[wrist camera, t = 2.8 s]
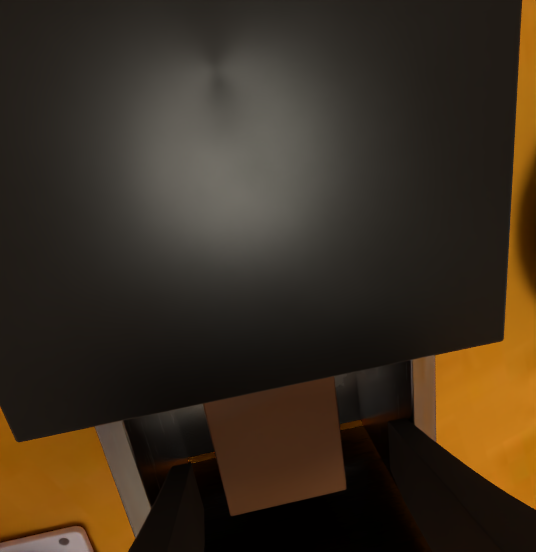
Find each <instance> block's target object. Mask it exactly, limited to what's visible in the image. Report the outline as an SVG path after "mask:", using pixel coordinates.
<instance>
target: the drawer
mask: <svg viewBox="0 0 536 552" xmlns="http://www.w3.org/2000/svg"><path fill="white" fill-rule="evenodd" d="M334 378H335V387H336V396H337V405H338V414H339V423H340V424H343V423H347V422H352V421H356V420H361V422H362V424H363V426H359V427H354V428H350V429H345V430H341V431H340V432H341V441H342V450H343V459H344V468H345V477H346V486H347V489H346V490H342V491H338V492H334V493H329V494H325V495H321V496H317V497H312V498H308V499H304V500H299V501H295V502H291V503H287V504H282V505H278V506H274V507H269V508H265V509H261V510H257V511H252V512H248V513H244V514H239V515H235V516H231V515H230V512H229V508H228V504H227V500H226V496H225V492H224V488H223V484H222V480H221V476H220V472H219V468H218V464H217V460H216V458H214V459H209V460H205V461H200V462H196V463H191V464H192V467H193V471H194V475H195V478H196V482H197V485H198V489H199V493H200V496H201V500H202V503H203V507H204V534H205V546H204V552H432V550H431V548H430V547H429V545H428V543H427V541H426V540H425V538H424V536H423V534H422V533H421V531H420V529H419V527H418V525H417V524H416V522H415V520H414V518H413V516H412V515H411V513H410V511H409V509H408V507H407V506H406V504H405V502H404V500H403V498H402V495H401V493H400V491H399V489H398V486H397V484H396V482H395V479H394V477H393V474H392V472H391V470H390V455H389V436H388V421H392V420H397V419H402V418H407V419H408V420H409V421H411V422H412V423H413V424H414V425H415V426H417V427H418V428H419V429H420V430H422V431H423V432H424V433H425V434H426V435H428V436H429V437H430V438H431V439H433V440H434V441H435V442H436V399H435V355H433V356H428V357H424V358H419V359H414V360H409V361H405V362H400V363H395V364H390V365H386V366H381V367H376V368H371V369H366V370H362V371H357V372H352V373H347V374H343V375H338V376H334ZM95 429H96V432H97V434H98V437H99V440H100V443H101V445H102V448H103V451H104V454H105V456H106V459H107V462H108V465H109V467H110V470H111V473H112V476H113V478H114V481H115V484H116V486H117V489H118V492H119V495H120V497H121V500H122V503H123V506H124V508H125V511H126V514H127V517H128V519H129V522H130V525H131V528H132V530H133V533H134V536H135V538H136V537H137V535H138V533H139V531H140V529H141V528H142V526H143V524H144V522H145V520H146V518H147V516H148V514H149V512H150V510H151V508H152V506H153V504H154V502H155V500H156V498H157V496H158V494H159V492H160V490H161V487H162V485H163V483H164V481H165V479H166V476H167V474H168V472H169V470H170V468H171V467H172V466H175V465H180V464H185V463H188V457H192V456H197V455H201V454H206V453H211V452H214V448H213V444H212V440H211V436H210V432H209V428H208V423H207V419H206V415H205V411H204V407H203V404H199V405H195V406H190V407H185V408H180V409H176V410H171V411H166V412H161V413H156V414H152V415H147V416H142V417H137V418H133V419H128V420H123V421H118V422H114V423H109V424H104V425H99V426H95Z"/></svg>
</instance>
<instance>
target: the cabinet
mask: <svg viewBox="0 0 536 552" xmlns="http://www.w3.org/2000/svg"><path fill="white" fill-rule="evenodd" d="M521 9H522V0H0V407H1V409H2V411H3V413H4V415H5V418H6V420H7V422H8V424H9V427H10V429H11V431H12V433H13V435H14V438H15V440H16V441H17V442H23V441H28V440H32V439H37V438H42V437H47V436H51V435H56V434H61V433H66V432H71V431H75V430H80V429H85V428H90V427H94V426H99V425H104V424H109V423H114V422H118V421H123V420H128V419H133V418H137V417H142V416H147V415H152V414H156V413H161V412H166V411H171V410H176V409H180V408H185V407H190V406H195V405H199V404H204V403H209V402H214V401H218V400H223V399H228V398H233V397H238V396H242V395H247V394H252V393H257V392H261V391H266V390H271V389H276V388H281V387H285V386H290V385H295V384H300V383H304V382H309V381H314V380H319V379H323V378H328V377H333V376H338V375H343V374H347V373H352V372H357V371H362V370H366V369H371V368H376V367H381V366H386V365H390V364H395V363H400V362H405V361H409V360H414V359H419V358H424V357H428V356H433V355H438V354H443V353H448V352H452V351H457V350H462V349H467V348H471V347H476V346H481V345H486V344H490V343H495V342H500V341H503V339H504V323H505V305H506V286H507V268H508V249H509V231H510V212H511V194H512V175H513V157H514V138H515V120H516V101H517V83H518V65H519V46H520V28H521Z"/></svg>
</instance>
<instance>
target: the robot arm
mask: <svg viewBox="0 0 536 552" xmlns="http://www.w3.org/2000/svg"><path fill="white" fill-rule="evenodd" d="M388 436H389V455H390V470H391V472H392V474H393V477H394V479H395V482H396V484H397V486H398V489H399V491H400V493H401V495H402V498H403V500H404V502H405V504H406V506H407V507H408V509H409V511H410V513H411V515H412V516H413V518H414V520H415V522H416V524H417V525H418V527H419V529H420V531H421V533H422V534H423V536H424V538H425V540H426V541H427V543H428V545H429V547H430V548H431V550H432V552H536V510H535V509H533V508H531V507H530V506H528V505H526V504H525V503H523V502H521V501H519V500H518V499H516V498H514V497H513V496H511V495H509V494H508V493H506V492H505V491H503V490H502V489H500V488H498V487H497V486H495V485H494V484H492V483H491V482H489V481H488V480H487V479H485V478H484V477H482V476H481V475H479V474H478V473H476V472H475V471H474V470H472V469H471V468H469V467H468V466H467V465H465V464H464V463H463V462H461V461H460V460H459V459H457V458H456V457H455V456H453V455H452V454H451V453H449V452H448V451H447V450H445V449H444V448H443V447H441V446H440V445H439V444H438V443H436V442H435V441H434V440H433V439H431V438H430V437H429V436H428V435H426V434H425V433H424V432H423V431H422V430H420V429H419V428H418V427H417V426H415V425H414V424H413V423H412V422H411V421H409V420H408V419H407V418H402V419H397V420H392V421H388ZM204 546H205V534H204V507H203V503H202V500H201V496H200V493H199V489H198V485H197V482H196V478H195V475H194V471H193V467H192V464H191V462H190V463H185V464H180V465H175V466H172V467H171V468H170V470H169V472H168V474H167V476H166V479H165V481H164V483H163V485H162V487H161V490H160V492H159V494H158V496H157V498H156V500H155V502H154V504H153V506H152V508H151V510H150V512H149V514H148V516H147V518H146V520H145V522H144V524H143V526H142V528H141V529H140V531H139V533H138V535H137V537H136V539H135V540H134V542H133V544H132V546H131V547H130V549H129V551H128V552H204ZM0 552H94V551H93V548H92V546H91V544H90V541H89V539H88V536H87V534H86V532H85V530H84V529H83V528H82V527H80V526H72V527H68V528H64V529H59V530H55V531H51V532H46V533H42V534H37V535H33V536H29V537H24V538H20V539H15V540H11V541H7V542H2V543H0Z"/></svg>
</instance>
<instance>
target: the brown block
mask: <svg viewBox="0 0 536 552" xmlns="http://www.w3.org/2000/svg"><path fill="white" fill-rule="evenodd" d="M203 407H204V411H205V415H206V419H207V423H208V428H209V432H210V436H211V440H212V444H213V448H214V452H215V456H216V460H217V464H218V468H219V472H220V476H221V480H222V484H223V488H224V492H225V496H226V500H227V504H228V508H229V512H230V515H231V516H235V515H239V514H244V513H248V512H252V511H257V510H261V509H265V508H269V507H274V506H278V505H282V504H287V503H291V502H295V501H299V500H304V499H308V498H312V497H317V496H321V495H325V494H329V493H334V492H338V491H342V490H346V489H347V486H346V477H345V468H344V459H343V450H342V441H341V432H340V423H339V414H338V405H337V396H336V387H335V378H334V376H333V377H328V378H323V379H319V380H314V381H309V382H304V383H300V384H295V385H290V386H285V387H281V388H276V389H271V390H266V391H261V392H257V393H252V394H247V395H242V396H238V397H233V398H228V399H223V400H218V401H214V402H209V403H204V404H203Z"/></svg>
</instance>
